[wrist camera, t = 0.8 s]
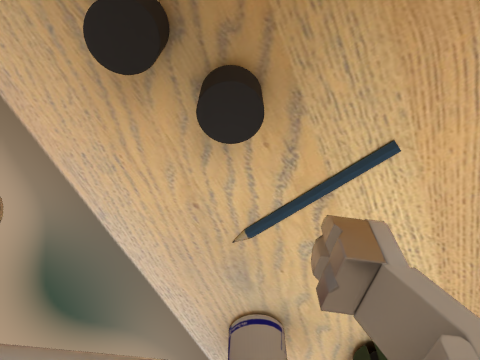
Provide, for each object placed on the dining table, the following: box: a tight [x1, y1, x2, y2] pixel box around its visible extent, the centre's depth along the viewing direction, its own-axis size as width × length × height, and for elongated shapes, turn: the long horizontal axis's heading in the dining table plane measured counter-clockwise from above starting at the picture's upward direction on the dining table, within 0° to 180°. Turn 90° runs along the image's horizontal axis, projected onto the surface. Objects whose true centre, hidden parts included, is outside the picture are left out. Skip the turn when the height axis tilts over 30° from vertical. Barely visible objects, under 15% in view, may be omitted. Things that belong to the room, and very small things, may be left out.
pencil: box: [232, 141, 401, 243], centre depth 29 cm, size 1×1×15 cm
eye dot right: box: [196, 65, 264, 144], centre depth 23 cm, size 4×4×3 cm
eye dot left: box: [83, 0, 169, 75], centre depth 21 cm, size 4×4×3 cm
